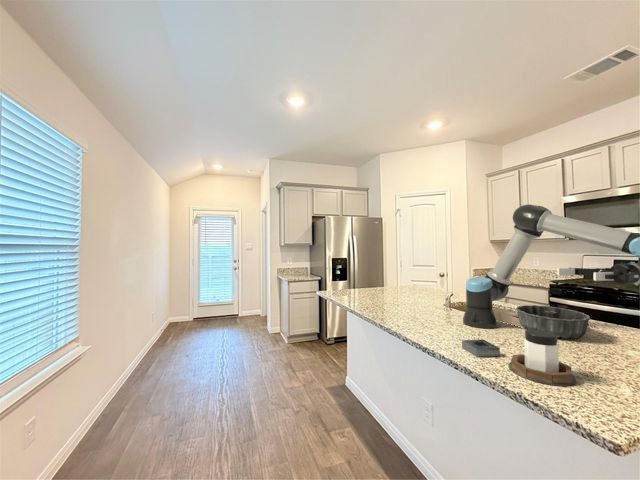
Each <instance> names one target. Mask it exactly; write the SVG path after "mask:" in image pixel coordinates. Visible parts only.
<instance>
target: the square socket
mask: <svg viewBox="0 0 640 480" xmlns="http://www.w3.org/2000/svg"><path fill="white" fill-rule="evenodd" d="M461 348H462V349H463V350H465V351H466V352H469V353H470V354H471V355H473V356H474V357H475V358H485V357H487V358H488V357H500V356H501V354H500V352H501V349H500V347H498V346H497V345H495V344H494V343H493V344H492V343H491V342H489V341H487V340H485V339H464V340H463V339H462V340H461Z"/></svg>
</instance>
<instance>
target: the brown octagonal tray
mask: <svg viewBox="0 0 640 480" xmlns="http://www.w3.org/2000/svg"><path fill="white" fill-rule="evenodd" d="M508 368H509V370H510V371H511V372H512V373H514V374H515V375H517V376H519V377H521V378H523V379H525V380H529V381H532V382H535V383H539V384H542V385H547V386H555V387H571V386H574V385H575V384H577V377H575V375H574V374H572V373H573V372H572V367H571V366H570V365H567V364H566V363H563V362H561V361H559V373H548V372H544V371H539V370H535V369H530V368H528V367H526V366H525V353H522V354H520V353H519V354H513V355H512V357H511V360H510V362H509V363H508Z"/></svg>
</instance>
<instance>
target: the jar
mask: <svg viewBox="0 0 640 480" xmlns="http://www.w3.org/2000/svg"><path fill="white" fill-rule="evenodd" d="M524 336H525V337H524V338H523V339H524V343H523V344H524V346H523V347H524V354H525V366H526V367H528V368H530V369H535V370H539V371H544V372H548V373H559V362H560V359H559V356H560V355H559V345H558V338H557V336H556V335H555V334H553V333H550V332H546V331H541V330H526V329H525V331H524Z"/></svg>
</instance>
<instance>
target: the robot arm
mask: <svg viewBox="0 0 640 480" xmlns="http://www.w3.org/2000/svg"><path fill="white" fill-rule="evenodd" d="M512 222H513V223H514V225H513V229H514V233H513V234H512V236H511V238H510V240H509V242H508V243H507V244H506V247H504V250H503V251H502V253H501V255H500V257H499V258H498V260H497V262H496V264H495V265H494V267H493V268H492V270H491V271H488V272H487V273H486V274H485V276H484V277H471V278H468V279H467V280H466V283H465V290H466V291H465V295H466V296H465V298H466V299H465V300H466V301H465V302H466V303H465V304H466V309H465V312H464V314H463V317H462V323H463V324H464V325H467V326H469V327H472V328H479V329H494V328H498V321H497V319H496V317H495V314H494V310H493V302H495V301H496V302H497V301H500V300H502V299H505V297H506V296H507V295H508V293H509V291H510V288H509V287H510V285H511V283H512V282H511V280H510V279H511V277H512V275H513V274H514V273H515V271H516V269H517V267H518V266H519V264H520V263H521V262H522V260H523V258H524V256H525V255H526V253H527V251H528V250H529V248H530V247H531V245H532V243H533V242H534V240H535V239H538V238H541V236H542V235H543V233H544V232H547V233H552V234H556V235H558V236H563V237H566V238H569V239H574V240H577V241H581V242H584V243H588V244H593V245H597V246H600V247H604V248H607V249H610V250H611V249H612V250H615V251H619V252H622V253H625V254H629V255H631V256H635V257H637V258H638V262H637V263H635V262H633V263H616V264H615V263H614V264H613V265H612V266H611V267H605V268H603V267H602V268H601V267H600V268H599V267H596V268H589V267H588V268H586V267H585V268H583V267H567V268H565V267H563V268H562V267H561V268H558V267H557V269H556V272H557V273H556V274H557V276H570V277H574V276H590V277H593V281H595V282H596V281H597V282H599V281H600V282H601V281H603V282H604V281H607V282H608V281H614V283H616V284H620V285H635V286H639V285H640V232H639V233H637V232H632V231H627V230H624V229H620V228H619V229H618V228H614V227H609V226H607V225H606V226H605V225H602V224H597V223H593V222H588V221H584V220H579V219H576V218H570V217H565V216H561V215H559V214H558V215H557V214H554V213H553V212H552V211H551V210H550V209H549V208H547V207H545V206H541V205H536V204H524V205H520V206H519V207H518V208H516V209H515V211H514V212H513V215H512Z"/></svg>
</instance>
